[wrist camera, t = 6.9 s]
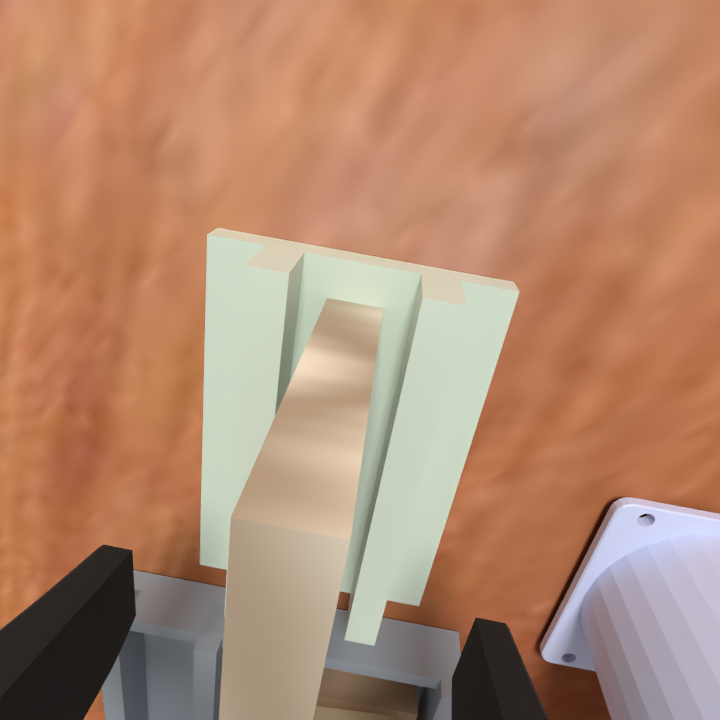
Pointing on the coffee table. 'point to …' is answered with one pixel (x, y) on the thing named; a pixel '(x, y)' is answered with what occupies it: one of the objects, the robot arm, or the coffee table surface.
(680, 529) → the robot arm
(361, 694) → the offcut lower
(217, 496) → the stand
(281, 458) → the birch sheet
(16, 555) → the coffee table surface
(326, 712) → the offcut upper
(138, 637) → the tray
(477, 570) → the coffee table surface
